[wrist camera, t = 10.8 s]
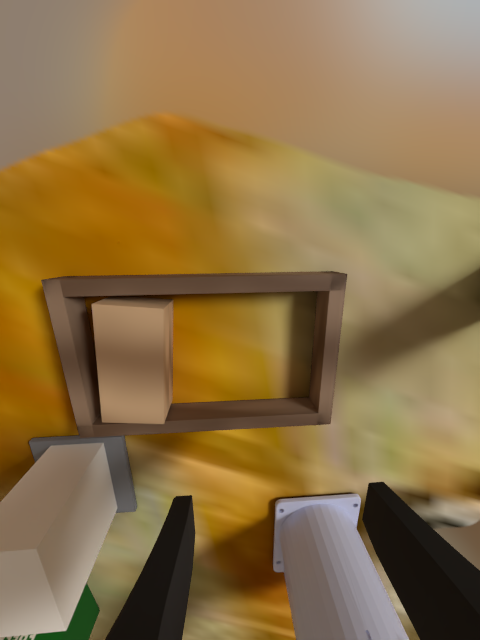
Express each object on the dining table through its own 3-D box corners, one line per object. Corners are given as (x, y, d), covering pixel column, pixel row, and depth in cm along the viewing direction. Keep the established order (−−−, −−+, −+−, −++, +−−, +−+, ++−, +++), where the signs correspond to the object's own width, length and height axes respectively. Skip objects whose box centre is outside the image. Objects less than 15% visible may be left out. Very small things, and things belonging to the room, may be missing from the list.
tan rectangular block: (173, 397, 19) (164, 424, 16) (120, 395, 19) (102, 422, 16) (173, 298, 17) (163, 308, 14) (114, 294, 16) (91, 303, 13)
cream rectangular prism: (117, 508, 21) (66, 630, 14) (69, 511, 21) (-6, 637, 14) (103, 442, 19) (36, 549, 12) (50, 445, 19) (-48, 555, 12)
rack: (320, 407, 20) (330, 424, 18) (94, 418, 19) (79, 437, 17) (332, 271, 17) (347, 274, 15) (63, 276, 16) (41, 279, 14)
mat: (137, 506, 21) (135, 511, 21) (56, 512, 21) (52, 517, 21) (123, 433, 19) (121, 436, 19) (32, 438, 19) (28, 442, 18)
